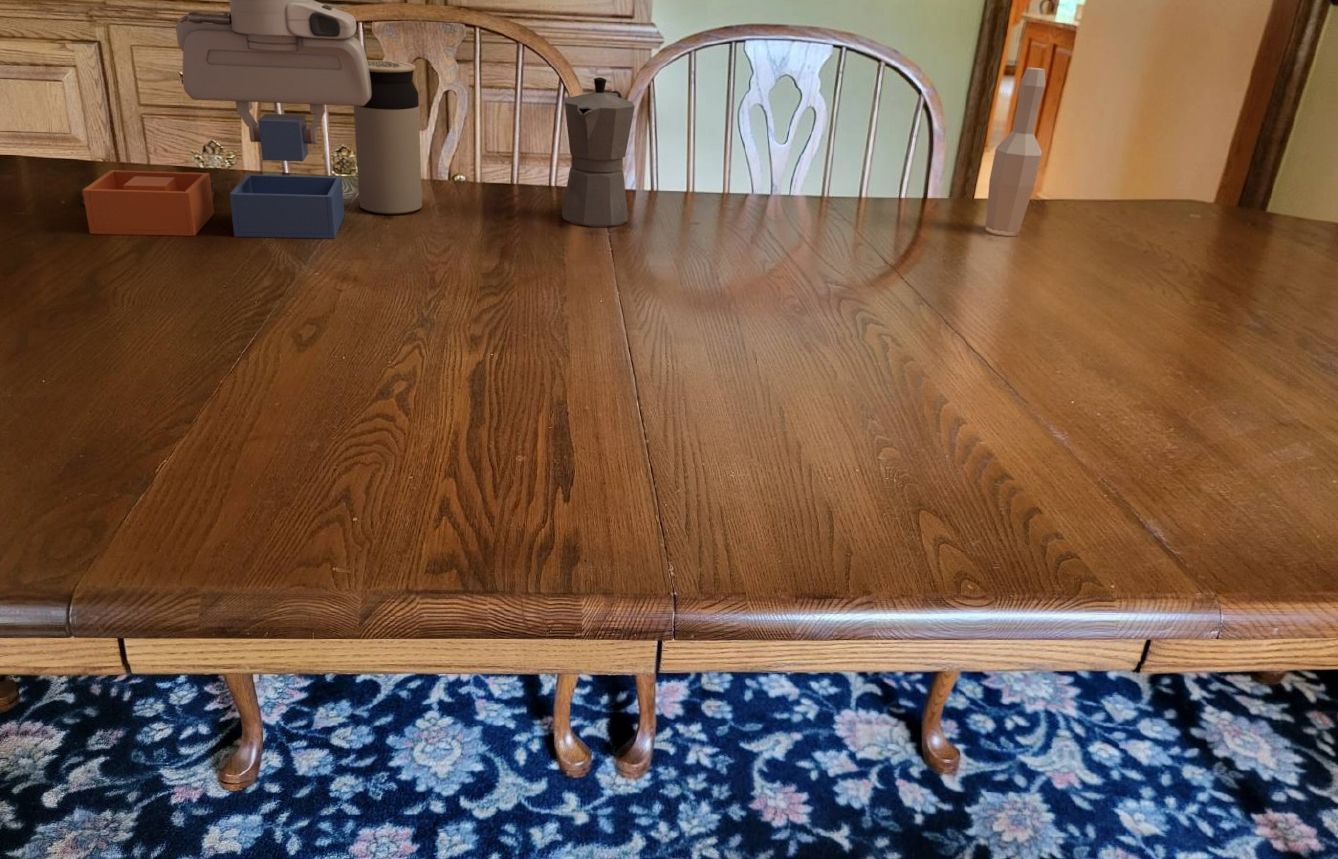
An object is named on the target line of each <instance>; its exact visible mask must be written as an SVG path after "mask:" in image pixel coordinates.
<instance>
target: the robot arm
mask: <svg viewBox="0 0 1338 859" xmlns="http://www.w3.org/2000/svg"><path fill="white" fill-rule="evenodd" d="M228 2H229V12H230V13H228V12H210V13H207V12H201V11H190V12H188V13H187V15H184V16H181V17H180V18H179V20H178V21H177V23H176V24H175V25H176V26H175V27H176V28H175V32H176V33H175V34H176V39H177V40H176V41H177V44H178V46H179V48H180V50H181V51H182V83H183V85H182V86H183V90H184V93H186V95H188V96H189V97H190V99H192V100H194V101H218V102H235V109H236V113H237V114H238V116H239V117H240V119H241V120H242V121H243V123H244V124H245V125H246V127H247V128H248V134H249V140H250V142H251V143H261V141H260V132H259V123H258V122H257V121H256V119H255V117H254V116H253V115H252V114H251V112H250V111H251V110H252V109H253V108H254V106H253V103H269V104H292V105H293V104H296V105H309V110H310V114H311V115H314V117H313V120H312V122H311V124H310V125H306V126H304V127H303V128H302V133H303V136H304V137H303V142H304V144H308V145H317V144H318V139H319V138H318V127H319V125H320V123H321V121H322V120H323V117H324V115H325V113H326V106H347V107H354V106H364V105H365V104H366V103H367V102H368V101H369V100H370V98H371V95H372V91H371V80H370V73H369V67H368V62H367V61H368V59H367V54H366V51H365V48H364V46H363V44H362V43H361V41H360V40H359V39H357V37H355V36H354V35H355V34H356V32H357V21H356V18H355V17H354V15H352V14H351V13H348V12H347V11H343V10H341V9H337V8H335V7H332V6H329V5H327V4H324V3H321V2H319V1H316V0H228ZM187 20H188V21H187Z"/></svg>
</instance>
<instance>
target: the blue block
mask: <svg viewBox="0 0 1338 859" xmlns="http://www.w3.org/2000/svg"><path fill="white" fill-rule="evenodd" d="M306 118H307V117H306V115H305V114H285V113H265V114H263V115H262V116H261V117H260V118H259V119H258V120H257V121H258V122H257V123H258V124H259V132H260V141H261V142H260V149H261V150H260V151H261V159H262V161H272V162H273V161H275V162H276V161H277V162H304V161H305V159H306V157H307V156H308V154H309V144H304V142H303V137H304V136H303V133H302V128H303V127H304V126H307V119H306Z"/></svg>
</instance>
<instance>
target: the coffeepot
mask: <svg viewBox="0 0 1338 859" xmlns="http://www.w3.org/2000/svg"><path fill="white" fill-rule="evenodd" d="M593 82H594V89H595V90H594V92H588V93H584V94H579V95H575V96H569V97H565V98H563V99H564V100H563V101H564V110H565V111H564V112H565V118H566V119H565V120H566V129H567V138H568V139H567V140H568V148H569V154H570V155H571V159H570V160H571V163H570V166H571V167H570V168H569V172H568V177H567V182H566V188H565V194H564V199H563V205H562V210H561V214H562V219H563V220H564V221H565V222H567V223H570V224H572V225H576V226H582V227H591V228H612V227H618V226H622V225H624V224H626V223H628V222H629V211H628V203H627V194H626V186H625V185H626V184H625V176H624V170H623V158H625V157H626V154H627V149H628V145H629V138H630V134H631V128H632V122H633V118H634V113H635V108H636V106H635V105H634V103H633V101H631V100H628V99H626V98H625V99H624V98H623V97H622V93H621V92H620V91H618V90H613V91H611V92H605V89H606V85H607V79H606V78H604V77H596V78H593Z"/></svg>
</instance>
